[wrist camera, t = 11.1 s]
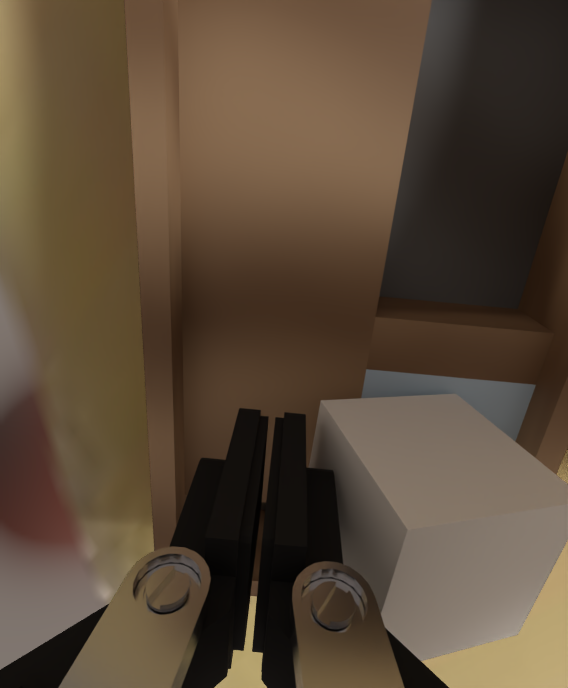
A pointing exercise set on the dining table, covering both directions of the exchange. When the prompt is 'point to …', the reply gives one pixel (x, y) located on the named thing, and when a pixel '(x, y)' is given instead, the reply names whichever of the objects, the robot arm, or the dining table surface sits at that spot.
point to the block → (440, 517)
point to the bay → (484, 396)
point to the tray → (344, 212)
